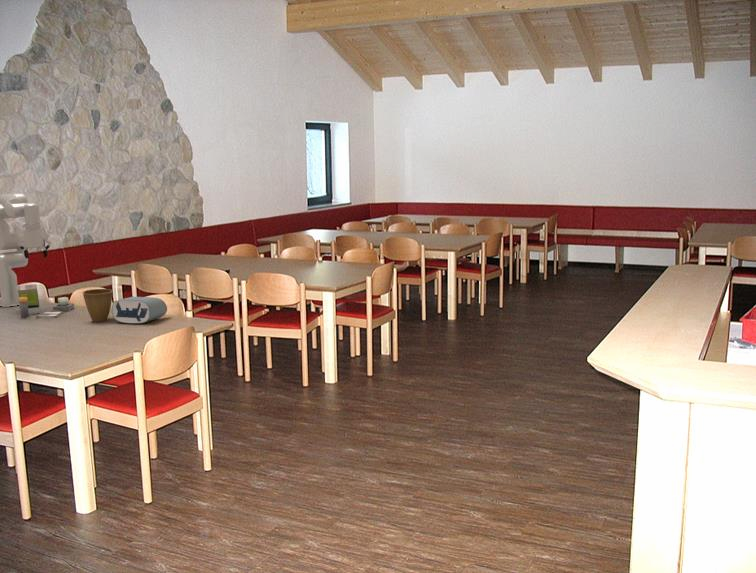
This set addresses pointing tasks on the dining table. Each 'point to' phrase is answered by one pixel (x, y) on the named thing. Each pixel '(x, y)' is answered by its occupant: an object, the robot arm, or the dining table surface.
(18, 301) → the robot arm
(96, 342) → the dining table surface
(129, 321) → the pencil case
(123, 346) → the dining table surface
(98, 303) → the plant pot
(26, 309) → the marker
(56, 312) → the clipboard
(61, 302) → the button
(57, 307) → the button housing
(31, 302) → the tea box
